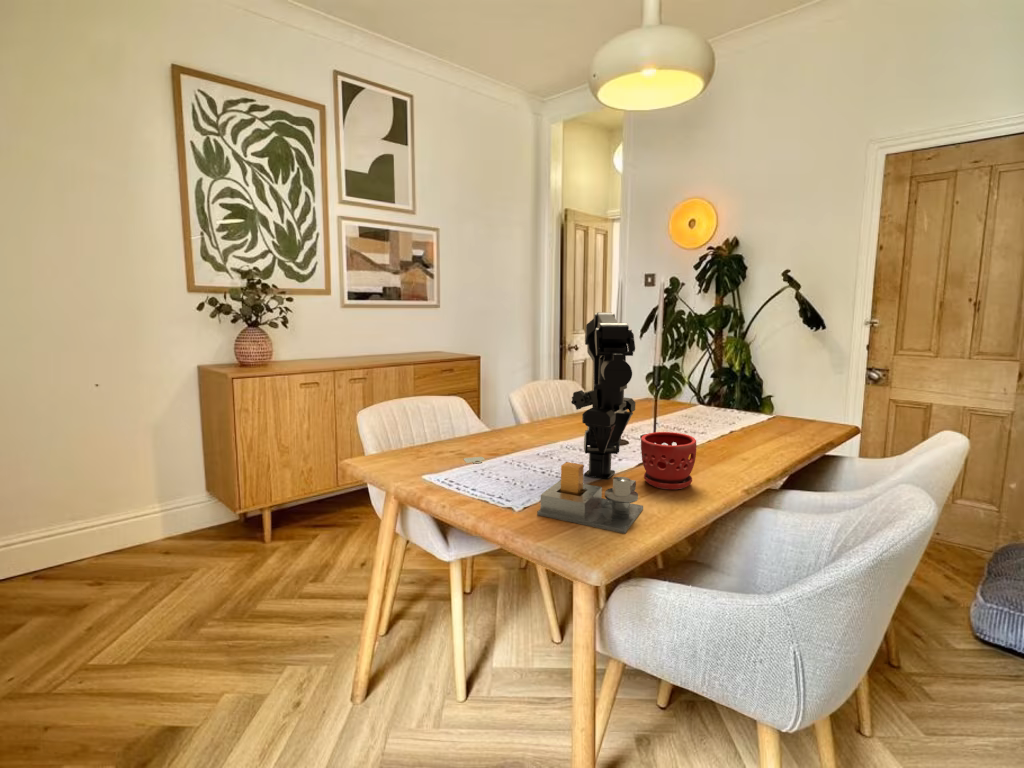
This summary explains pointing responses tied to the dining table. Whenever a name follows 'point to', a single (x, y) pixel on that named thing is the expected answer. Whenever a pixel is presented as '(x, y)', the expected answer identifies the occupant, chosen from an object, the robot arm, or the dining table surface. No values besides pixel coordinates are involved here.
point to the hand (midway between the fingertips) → (608, 447)
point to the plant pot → (668, 459)
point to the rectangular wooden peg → (572, 478)
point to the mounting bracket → (474, 460)
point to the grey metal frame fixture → (594, 505)
